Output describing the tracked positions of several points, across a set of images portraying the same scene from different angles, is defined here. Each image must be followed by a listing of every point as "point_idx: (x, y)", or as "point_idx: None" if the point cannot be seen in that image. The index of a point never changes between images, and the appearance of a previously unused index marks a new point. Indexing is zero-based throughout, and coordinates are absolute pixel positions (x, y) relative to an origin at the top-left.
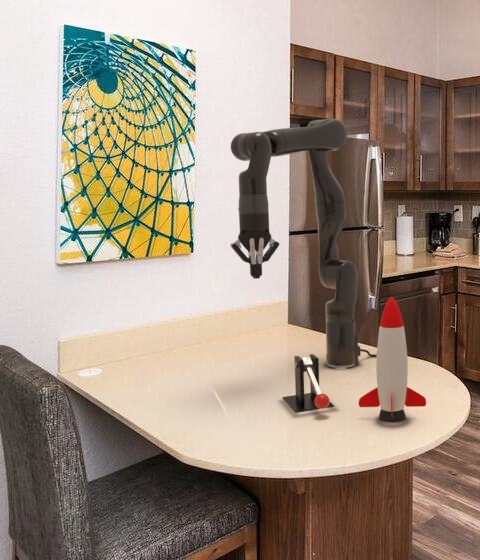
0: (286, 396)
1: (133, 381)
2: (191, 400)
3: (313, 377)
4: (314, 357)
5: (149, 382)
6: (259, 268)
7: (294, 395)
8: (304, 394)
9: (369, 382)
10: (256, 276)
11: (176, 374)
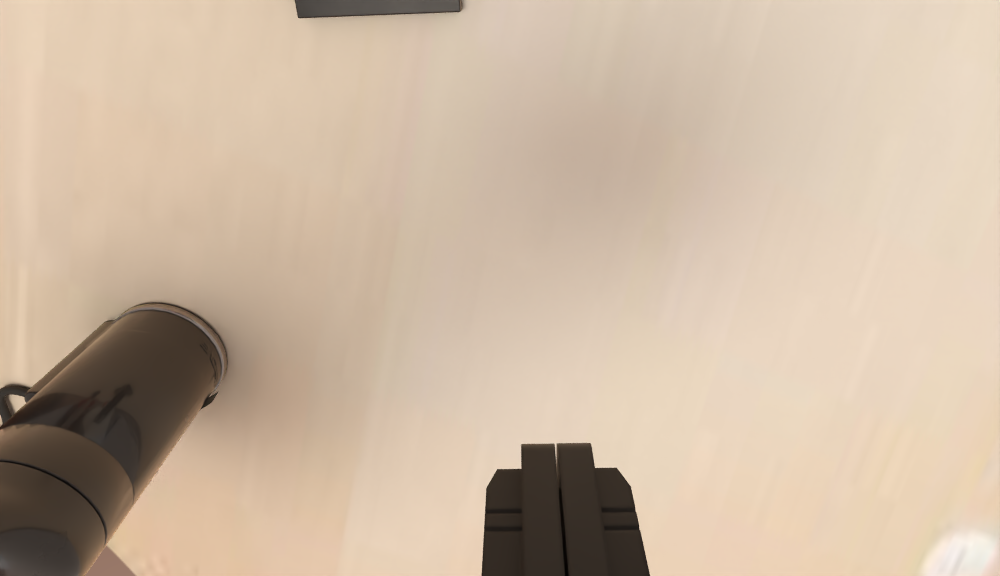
0: (442, 10)
1: (882, 439)
2: (780, 175)
3: None
4: None
5: (841, 413)
6: (524, 539)
7: (407, 8)
8: (363, 2)
9: (71, 103)
10: (565, 455)
11: (738, 455)
